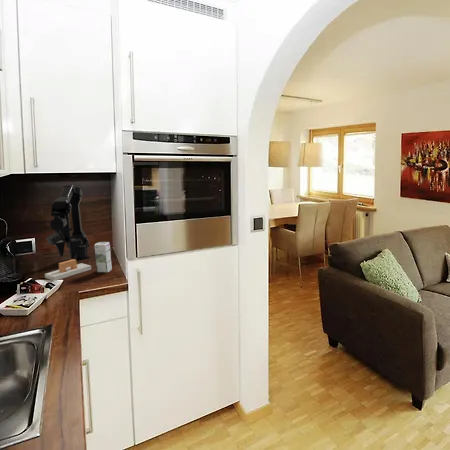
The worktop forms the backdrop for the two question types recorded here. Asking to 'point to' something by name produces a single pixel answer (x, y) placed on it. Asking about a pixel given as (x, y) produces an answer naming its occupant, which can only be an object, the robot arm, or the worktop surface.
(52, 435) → the worktop surface
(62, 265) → the clip
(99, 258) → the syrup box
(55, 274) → the rail
